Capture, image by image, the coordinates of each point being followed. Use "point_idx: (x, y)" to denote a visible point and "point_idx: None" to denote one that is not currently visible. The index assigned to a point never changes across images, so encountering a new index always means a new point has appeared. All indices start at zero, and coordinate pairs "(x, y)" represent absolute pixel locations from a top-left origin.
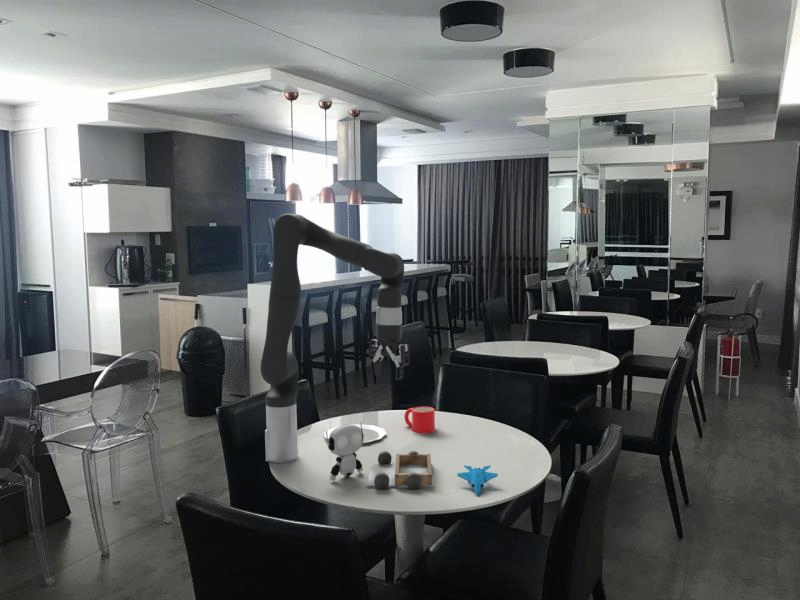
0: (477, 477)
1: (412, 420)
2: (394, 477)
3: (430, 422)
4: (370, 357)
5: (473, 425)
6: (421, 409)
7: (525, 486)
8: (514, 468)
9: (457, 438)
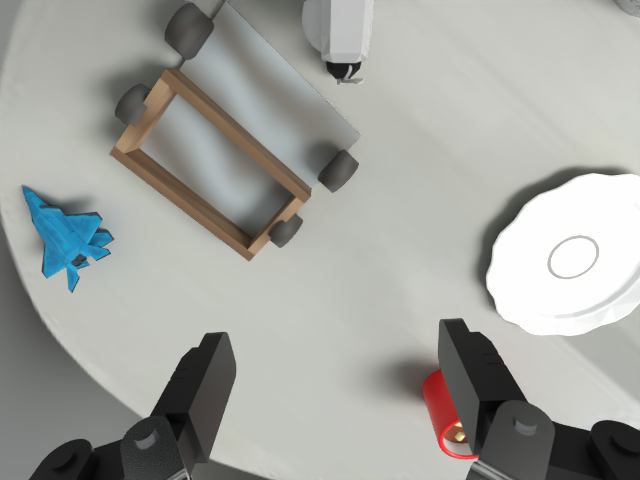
0: (46, 229)
1: None
2: (230, 112)
3: (430, 410)
4: (616, 446)
5: (390, 467)
6: None
7: (33, 297)
8: (131, 352)
9: (354, 400)
